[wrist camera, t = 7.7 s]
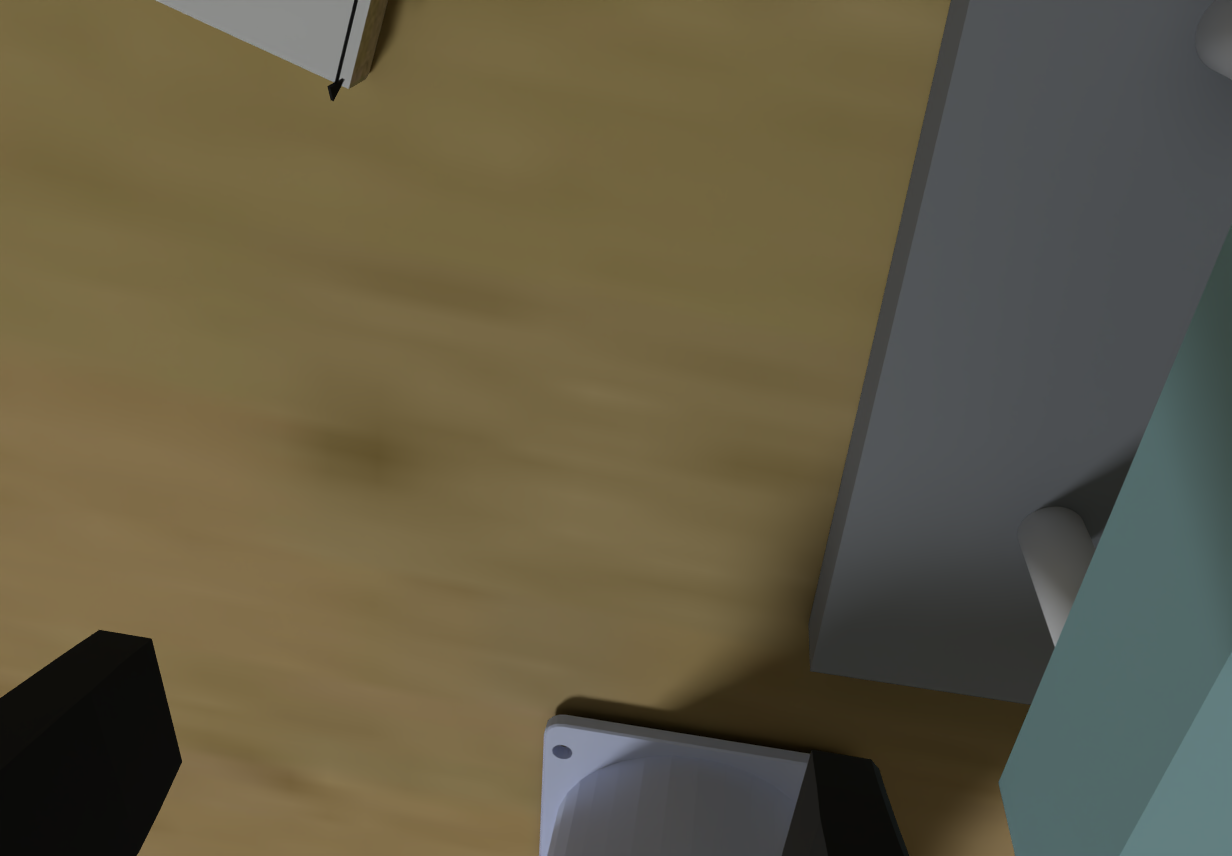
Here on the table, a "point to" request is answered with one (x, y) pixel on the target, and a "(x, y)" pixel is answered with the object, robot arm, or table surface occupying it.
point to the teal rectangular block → (1147, 641)
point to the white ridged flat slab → (301, 31)
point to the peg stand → (1024, 331)
